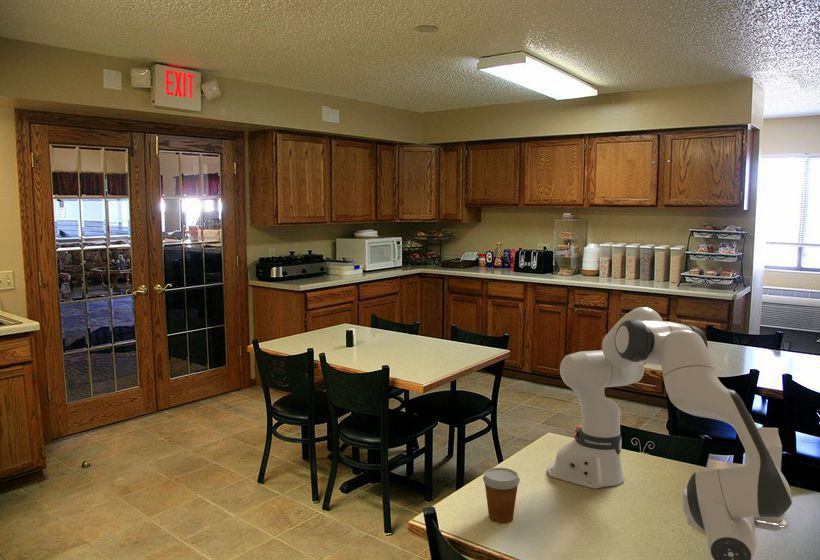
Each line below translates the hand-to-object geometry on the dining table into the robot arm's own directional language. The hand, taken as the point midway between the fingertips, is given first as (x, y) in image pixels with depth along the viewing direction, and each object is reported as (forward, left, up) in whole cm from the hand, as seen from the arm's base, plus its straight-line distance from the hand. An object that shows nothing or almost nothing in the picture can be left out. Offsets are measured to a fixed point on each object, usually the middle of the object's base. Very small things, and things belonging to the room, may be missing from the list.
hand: (731, 494), depth 144 cm
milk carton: (+8, +38, -14) cm, 42 cm away
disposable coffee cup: (-53, -10, -14) cm, 56 cm away
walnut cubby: (0, +23, -14) cm, 27 cm away
